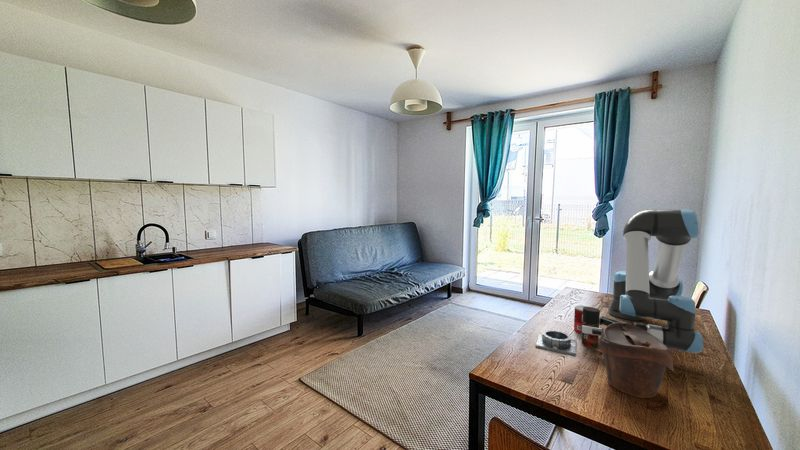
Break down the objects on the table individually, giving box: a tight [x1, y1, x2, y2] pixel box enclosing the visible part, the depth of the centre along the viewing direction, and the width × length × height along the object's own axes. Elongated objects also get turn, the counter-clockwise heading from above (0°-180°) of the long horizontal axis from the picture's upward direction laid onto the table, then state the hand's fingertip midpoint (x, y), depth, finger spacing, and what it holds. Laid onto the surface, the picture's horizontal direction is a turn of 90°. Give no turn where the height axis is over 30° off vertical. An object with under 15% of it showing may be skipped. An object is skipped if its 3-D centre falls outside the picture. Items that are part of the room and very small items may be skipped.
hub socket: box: [535, 329, 577, 356], centre depth 128 cm, size 14×14×4 cm
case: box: [598, 323, 675, 399], centre depth 98 cm, size 18×20×18 cm
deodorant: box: [581, 306, 601, 349], centre depth 128 cm, size 6×6×15 cm
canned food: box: [573, 305, 589, 335], centre depth 141 cm, size 8×8×11 cm
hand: (581, 323), depth 129 cm, fingers open, 13 cm apart
